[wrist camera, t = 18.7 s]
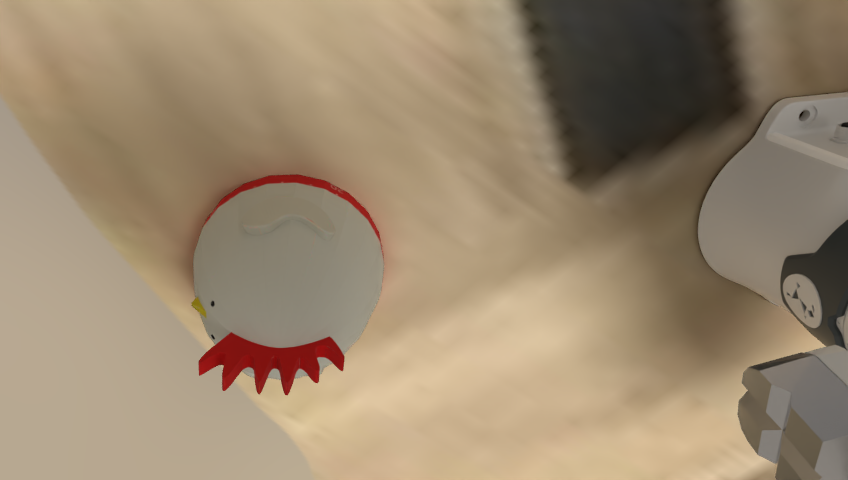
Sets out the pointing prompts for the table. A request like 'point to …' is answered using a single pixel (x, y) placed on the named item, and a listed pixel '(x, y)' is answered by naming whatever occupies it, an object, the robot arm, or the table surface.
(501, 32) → the table surface
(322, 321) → the kitchen timer
